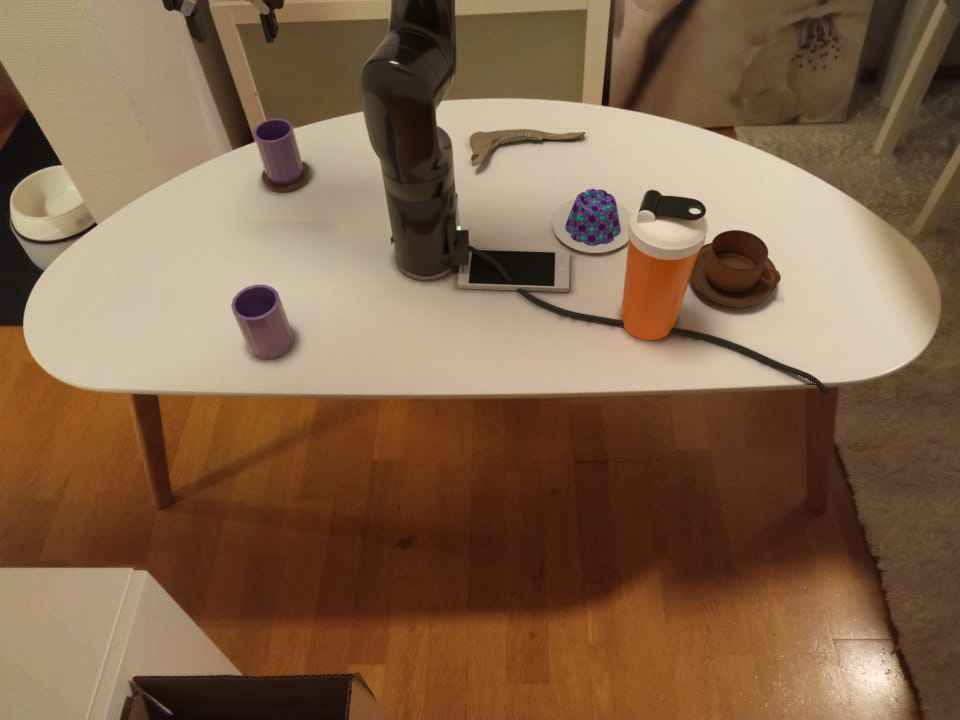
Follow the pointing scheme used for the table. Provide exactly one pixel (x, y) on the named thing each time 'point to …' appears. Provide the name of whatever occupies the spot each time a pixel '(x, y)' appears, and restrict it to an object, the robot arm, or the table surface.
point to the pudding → (592, 222)
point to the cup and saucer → (735, 270)
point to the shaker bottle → (660, 261)
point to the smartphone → (517, 271)
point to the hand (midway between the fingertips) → (237, 40)
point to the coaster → (290, 186)
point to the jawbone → (490, 140)
